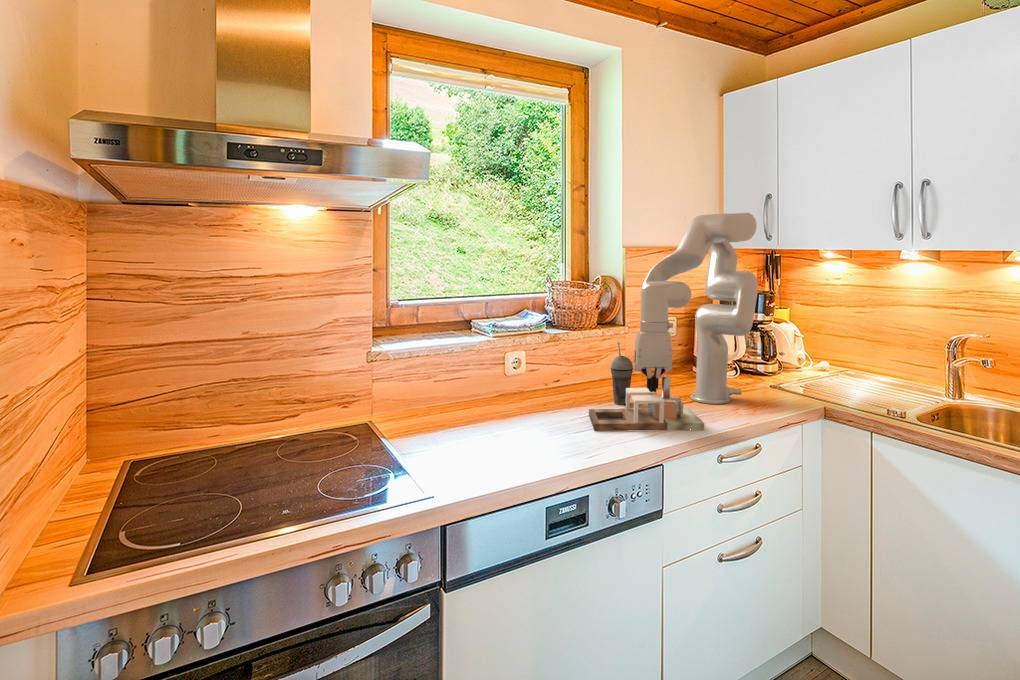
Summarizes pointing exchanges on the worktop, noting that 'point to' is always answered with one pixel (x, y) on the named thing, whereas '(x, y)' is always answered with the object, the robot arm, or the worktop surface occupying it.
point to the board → (640, 420)
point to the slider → (666, 398)
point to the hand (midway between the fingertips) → (652, 390)
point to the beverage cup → (621, 377)
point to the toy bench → (644, 401)
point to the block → (667, 409)
